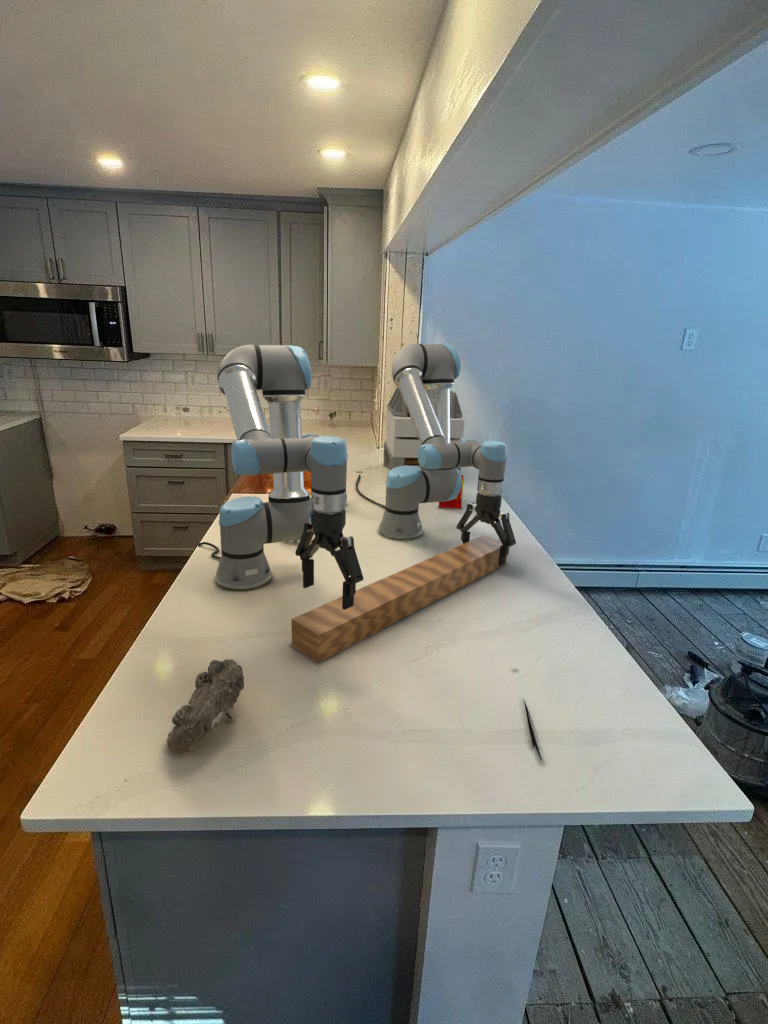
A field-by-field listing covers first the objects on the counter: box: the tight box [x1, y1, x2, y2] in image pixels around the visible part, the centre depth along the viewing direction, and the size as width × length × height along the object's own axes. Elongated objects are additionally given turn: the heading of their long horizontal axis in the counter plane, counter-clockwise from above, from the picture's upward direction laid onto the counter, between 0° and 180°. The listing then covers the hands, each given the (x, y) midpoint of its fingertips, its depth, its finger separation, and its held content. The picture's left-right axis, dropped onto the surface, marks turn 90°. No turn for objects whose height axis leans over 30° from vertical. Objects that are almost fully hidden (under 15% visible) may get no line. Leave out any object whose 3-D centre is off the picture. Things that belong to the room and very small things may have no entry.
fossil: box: [166, 658, 245, 754], centre depth 106 cm, size 22×10×15 cm
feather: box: [514, 668, 543, 762], centre depth 113 cm, size 2×28×2 cm
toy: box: [438, 474, 465, 510], centre depth 239 cm, size 12×13×30 cm
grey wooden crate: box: [383, 387, 465, 475], centre depth 268 cm, size 34×33×41 cm
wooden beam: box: [290, 534, 508, 664], centre depth 155 cm, size 78×10×7 cm, turn 137°
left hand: (327, 596), depth 130 cm, fingers open, 13 cm apart
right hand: (482, 558), depth 177 cm, fingers open, 13 cm apart
